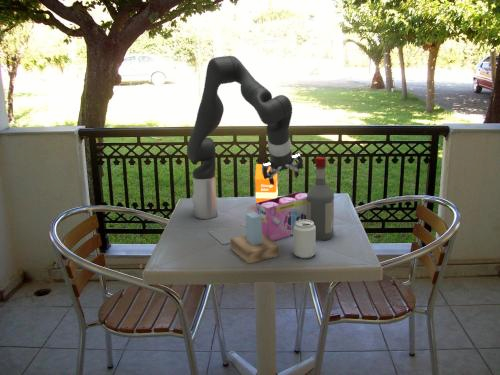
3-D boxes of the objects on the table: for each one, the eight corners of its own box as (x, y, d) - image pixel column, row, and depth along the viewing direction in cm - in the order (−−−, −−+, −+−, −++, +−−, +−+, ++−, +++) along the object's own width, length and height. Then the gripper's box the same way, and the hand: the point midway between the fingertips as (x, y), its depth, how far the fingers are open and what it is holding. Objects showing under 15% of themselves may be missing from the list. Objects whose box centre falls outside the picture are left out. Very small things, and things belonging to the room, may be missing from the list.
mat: (222, 244, 190) (222, 244, 189) (208, 232, 202) (208, 232, 202) (256, 237, 195) (256, 236, 195) (241, 225, 207) (241, 225, 207)
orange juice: (258, 205, 231) (256, 162, 225) (278, 205, 230) (277, 162, 224) (256, 211, 224) (254, 166, 218) (276, 211, 222) (275, 166, 216)
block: (253, 245, 178) (252, 218, 175) (246, 240, 182) (245, 213, 179) (262, 243, 179) (261, 216, 177) (255, 238, 184) (254, 212, 181)
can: (301, 261, 174) (301, 227, 171) (289, 253, 181) (289, 220, 177) (319, 256, 177) (320, 223, 174) (307, 248, 184) (307, 216, 180)
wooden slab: (248, 263, 174) (247, 252, 172) (231, 249, 186) (230, 238, 184) (279, 256, 179) (279, 245, 177) (260, 242, 191) (260, 232, 189)
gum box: (304, 222, 209) (304, 190, 205) (317, 227, 203) (317, 194, 199) (256, 236, 197) (255, 202, 193) (268, 242, 190) (267, 207, 186)
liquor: (334, 232, 198) (335, 155, 189) (330, 241, 189) (331, 161, 181) (310, 230, 200) (310, 154, 192) (305, 239, 192) (305, 160, 183)
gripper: (296, 134, 175) (299, 167, 187) (256, 146, 174) (262, 178, 186) (303, 149, 170) (306, 181, 182) (262, 161, 169) (267, 193, 181)
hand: (284, 179), depth 184 cm, fingers open, 8 cm apart
